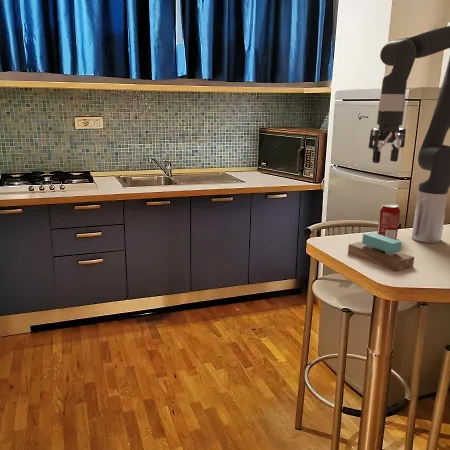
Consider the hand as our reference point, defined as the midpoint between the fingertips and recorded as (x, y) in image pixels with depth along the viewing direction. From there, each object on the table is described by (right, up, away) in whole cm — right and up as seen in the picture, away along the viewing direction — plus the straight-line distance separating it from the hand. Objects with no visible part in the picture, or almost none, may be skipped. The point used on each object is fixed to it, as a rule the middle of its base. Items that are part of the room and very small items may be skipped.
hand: (384, 162), depth 143 cm
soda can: (+6, -25, +17) cm, 31 cm away
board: (-4, -31, -6) cm, 31 cm away
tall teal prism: (-4, -31, -6) cm, 31 cm away
